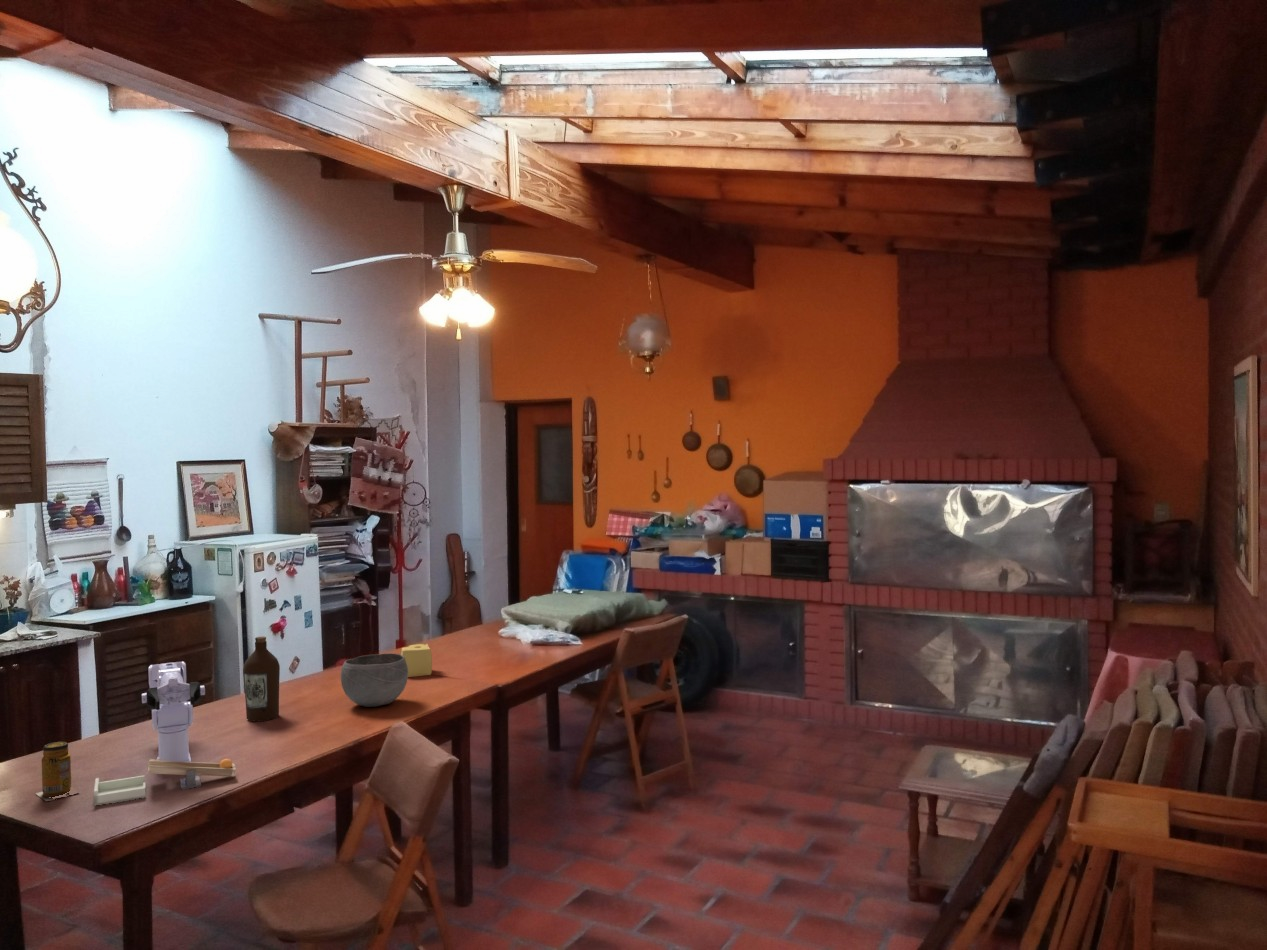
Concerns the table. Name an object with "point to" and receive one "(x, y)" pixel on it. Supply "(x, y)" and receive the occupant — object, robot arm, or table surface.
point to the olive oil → (261, 683)
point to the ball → (226, 763)
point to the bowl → (374, 678)
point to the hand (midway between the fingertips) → (175, 703)
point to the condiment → (55, 770)
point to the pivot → (190, 780)
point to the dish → (119, 790)
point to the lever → (188, 768)
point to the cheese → (418, 659)
